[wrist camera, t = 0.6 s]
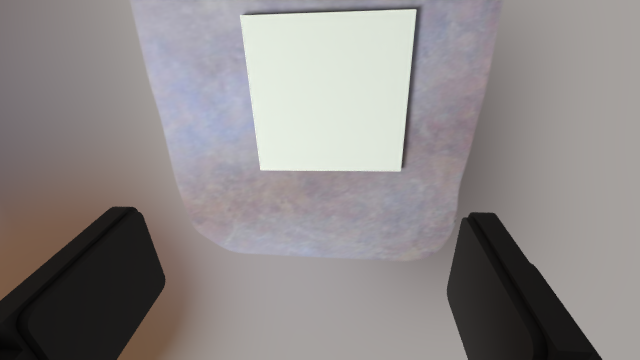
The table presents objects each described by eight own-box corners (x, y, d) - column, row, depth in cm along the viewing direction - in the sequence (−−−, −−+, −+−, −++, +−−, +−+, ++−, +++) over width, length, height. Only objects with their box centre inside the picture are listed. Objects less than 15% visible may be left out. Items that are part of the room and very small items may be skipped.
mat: (242, 15, 30) (240, 15, 30) (415, 9, 29) (416, 9, 28) (261, 168, 38) (260, 170, 37) (399, 168, 36) (400, 171, 36)
